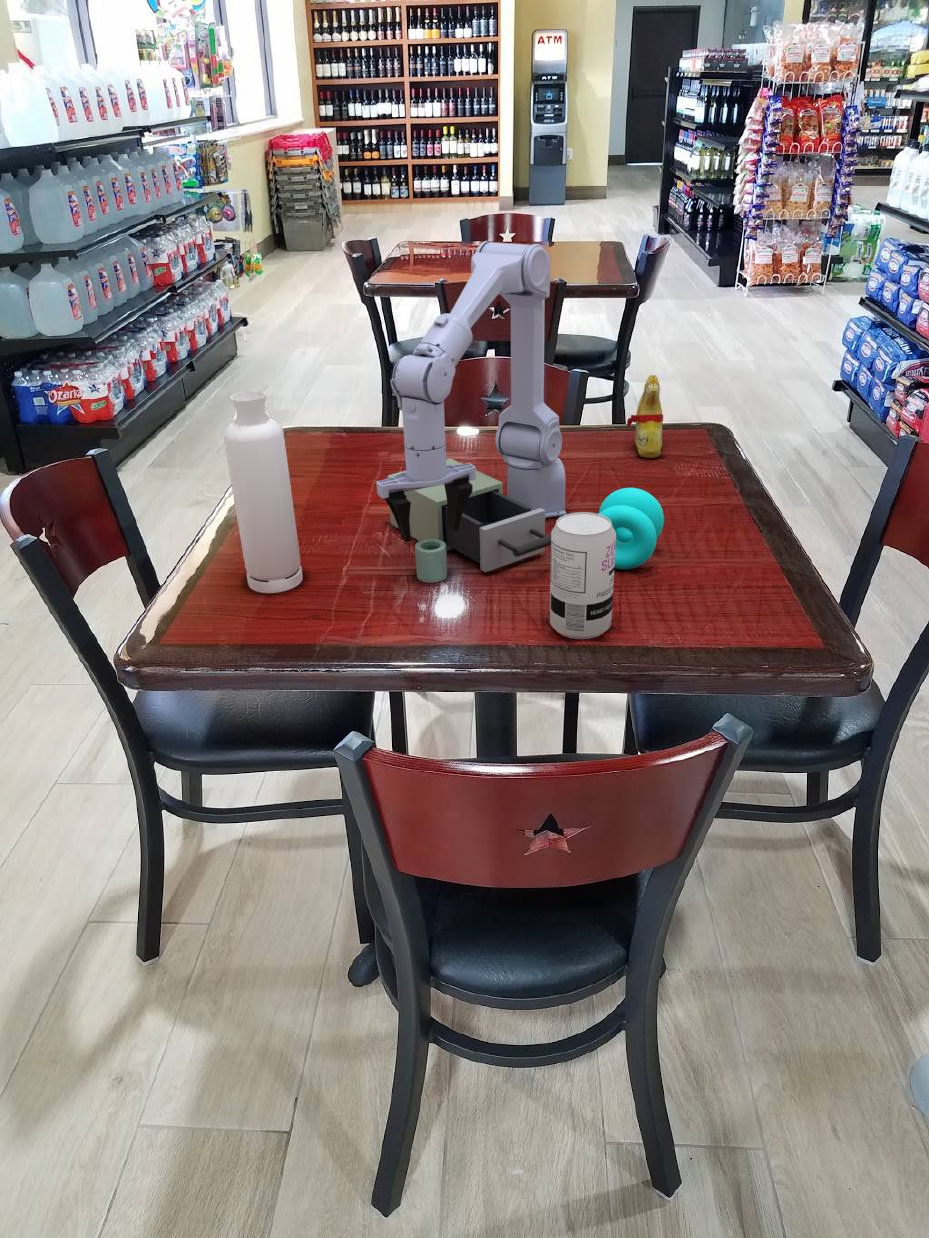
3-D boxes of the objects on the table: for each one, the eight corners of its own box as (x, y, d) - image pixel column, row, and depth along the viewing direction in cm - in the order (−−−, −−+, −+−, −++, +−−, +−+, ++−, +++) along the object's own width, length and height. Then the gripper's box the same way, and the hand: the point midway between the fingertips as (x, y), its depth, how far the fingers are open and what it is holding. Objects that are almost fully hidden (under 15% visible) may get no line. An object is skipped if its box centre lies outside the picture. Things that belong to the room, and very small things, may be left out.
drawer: (566, 562, 139) (567, 520, 136) (506, 584, 134) (505, 541, 130) (492, 523, 153) (491, 484, 149) (434, 542, 147) (432, 502, 144)
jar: (442, 567, 141) (441, 537, 139) (450, 580, 137) (449, 549, 135) (414, 571, 140) (412, 541, 138) (420, 584, 136) (419, 554, 134)
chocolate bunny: (657, 441, 188) (663, 366, 180) (664, 460, 178) (670, 382, 171) (623, 441, 188) (627, 367, 181) (628, 460, 179) (632, 383, 171)
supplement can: (544, 613, 128) (546, 512, 120) (604, 609, 128) (609, 508, 121) (554, 643, 121) (556, 538, 113) (617, 639, 121) (623, 534, 114)
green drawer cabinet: (503, 532, 152) (502, 482, 147) (439, 553, 146) (437, 502, 141) (452, 505, 162) (450, 458, 158) (390, 524, 156) (387, 475, 152)
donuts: (662, 548, 145) (667, 488, 140) (652, 576, 136) (657, 513, 131) (599, 541, 148) (602, 482, 143) (585, 568, 139) (587, 506, 134)
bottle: (306, 587, 137) (281, 400, 123) (250, 596, 135) (219, 407, 121) (298, 564, 143) (274, 384, 130) (245, 572, 142) (215, 391, 128)
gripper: (459, 427, 135) (462, 514, 141) (365, 444, 129) (373, 534, 136) (481, 441, 129) (483, 531, 136) (384, 459, 124) (391, 552, 130)
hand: (429, 533), depth 135 cm, fingers open, 7 cm apart
